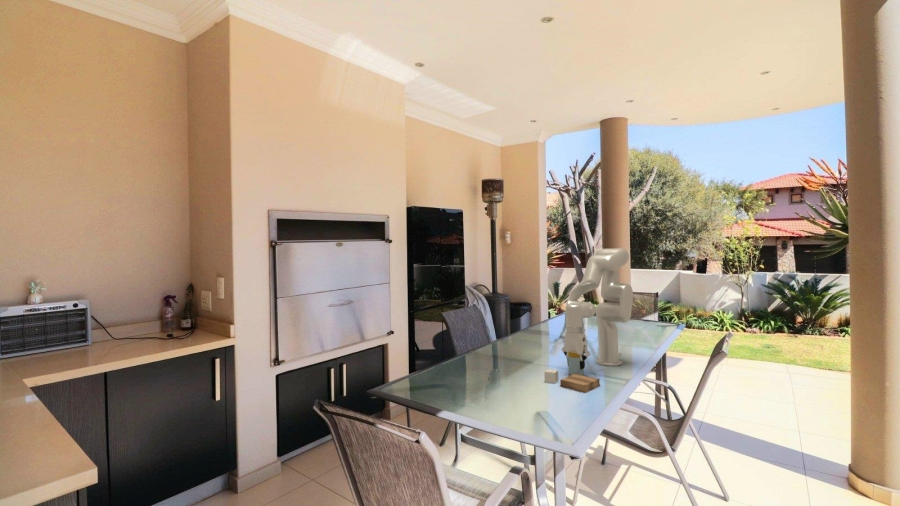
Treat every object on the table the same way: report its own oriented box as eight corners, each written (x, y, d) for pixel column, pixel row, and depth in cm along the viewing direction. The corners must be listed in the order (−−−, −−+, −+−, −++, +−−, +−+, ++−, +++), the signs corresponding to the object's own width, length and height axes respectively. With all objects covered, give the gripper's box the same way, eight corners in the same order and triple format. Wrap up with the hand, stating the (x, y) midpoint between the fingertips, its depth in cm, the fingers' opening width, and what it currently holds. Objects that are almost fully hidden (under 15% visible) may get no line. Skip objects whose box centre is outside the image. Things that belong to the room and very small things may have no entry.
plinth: (575, 379, 191) (575, 373, 191) (600, 385, 182) (600, 379, 182) (559, 386, 183) (559, 379, 183) (584, 393, 174) (584, 386, 174)
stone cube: (548, 379, 194) (547, 368, 194) (558, 380, 192) (558, 369, 192) (544, 382, 190) (544, 371, 190) (555, 383, 187) (555, 372, 187)
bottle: (585, 378, 192) (583, 346, 192) (569, 378, 194) (568, 346, 194) (583, 373, 199) (582, 343, 199) (568, 373, 201) (567, 343, 201)
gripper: (595, 330, 192) (596, 369, 192) (563, 326, 205) (565, 362, 206) (586, 333, 187) (587, 372, 188) (554, 328, 201) (556, 365, 201)
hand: (576, 367), depth 197 cm, fingers closed on bottle, 5 cm apart
